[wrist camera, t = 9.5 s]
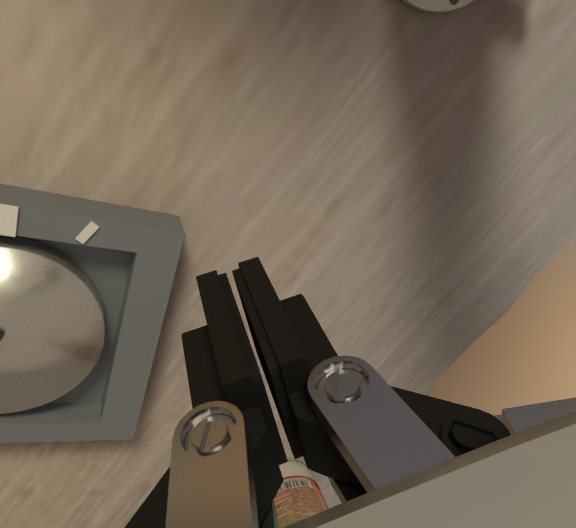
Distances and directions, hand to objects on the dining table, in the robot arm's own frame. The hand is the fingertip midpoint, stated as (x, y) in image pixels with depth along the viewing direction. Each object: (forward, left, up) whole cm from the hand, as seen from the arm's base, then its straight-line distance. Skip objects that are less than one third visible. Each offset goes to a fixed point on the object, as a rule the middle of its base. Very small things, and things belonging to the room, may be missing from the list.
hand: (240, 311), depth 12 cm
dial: (+8, +17, -23) cm, 29 cm away
